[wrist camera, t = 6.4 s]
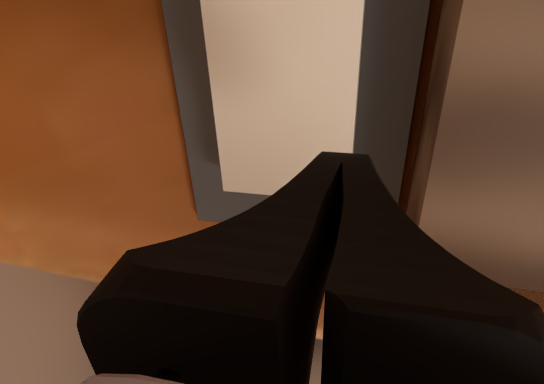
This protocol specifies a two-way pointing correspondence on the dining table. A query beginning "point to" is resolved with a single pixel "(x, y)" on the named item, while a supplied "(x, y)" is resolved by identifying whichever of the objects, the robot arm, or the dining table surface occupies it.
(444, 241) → the deck
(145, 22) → the dining table surface
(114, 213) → the dining table surface
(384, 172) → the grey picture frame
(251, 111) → the beige flat block
